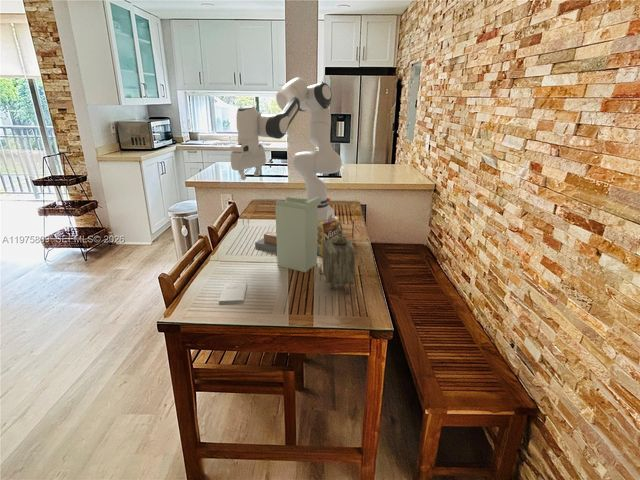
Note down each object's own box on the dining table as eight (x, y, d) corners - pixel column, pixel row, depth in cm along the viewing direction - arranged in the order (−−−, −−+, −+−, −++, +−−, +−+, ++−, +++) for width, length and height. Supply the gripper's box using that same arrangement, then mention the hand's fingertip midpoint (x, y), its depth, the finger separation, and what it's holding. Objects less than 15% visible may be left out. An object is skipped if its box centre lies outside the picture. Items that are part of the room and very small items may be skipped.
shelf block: (289, 257, 162) (288, 192, 151) (320, 264, 155) (320, 196, 145) (277, 265, 154) (275, 197, 144) (308, 273, 148) (308, 202, 137)
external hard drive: (219, 305, 126) (224, 287, 137) (243, 304, 126) (247, 286, 138) (218, 300, 125) (224, 283, 137) (243, 300, 126) (246, 282, 137)
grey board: (266, 241, 179) (266, 236, 179) (317, 252, 167) (317, 247, 166) (255, 247, 172) (254, 242, 171) (307, 259, 160) (307, 254, 159)
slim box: (269, 239, 174) (268, 231, 173) (309, 248, 165) (309, 240, 163) (264, 242, 171) (263, 234, 170) (305, 251, 161) (305, 243, 160)
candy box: (321, 256, 163) (322, 223, 157) (316, 253, 166) (316, 221, 161) (338, 252, 168) (339, 220, 162) (332, 249, 171) (333, 217, 165)
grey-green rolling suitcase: (353, 296, 131) (356, 229, 122) (328, 298, 129) (329, 230, 120) (345, 277, 144) (347, 216, 135) (322, 279, 143) (322, 217, 134)
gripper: (257, 143, 171) (258, 173, 176) (227, 147, 154) (229, 180, 159) (268, 144, 168) (269, 174, 173) (239, 148, 151) (241, 182, 156)
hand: (250, 177), depth 166 cm, fingers open, 8 cm apart
